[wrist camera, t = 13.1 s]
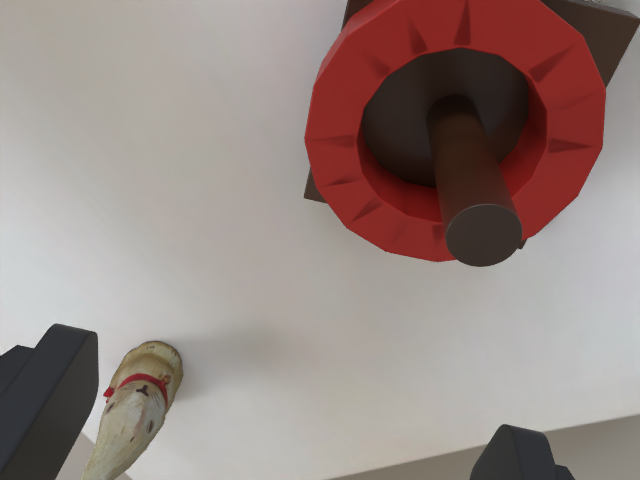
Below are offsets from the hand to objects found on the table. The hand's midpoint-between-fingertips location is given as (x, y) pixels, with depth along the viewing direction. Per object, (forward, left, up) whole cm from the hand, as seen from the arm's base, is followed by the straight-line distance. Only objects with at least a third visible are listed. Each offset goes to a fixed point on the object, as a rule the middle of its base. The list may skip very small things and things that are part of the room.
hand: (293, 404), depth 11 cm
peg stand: (+5, 0, -19) cm, 20 cm away
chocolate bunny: (-9, -24, -20) cm, 32 cm away
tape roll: (+5, 0, -18) cm, 19 cm away
